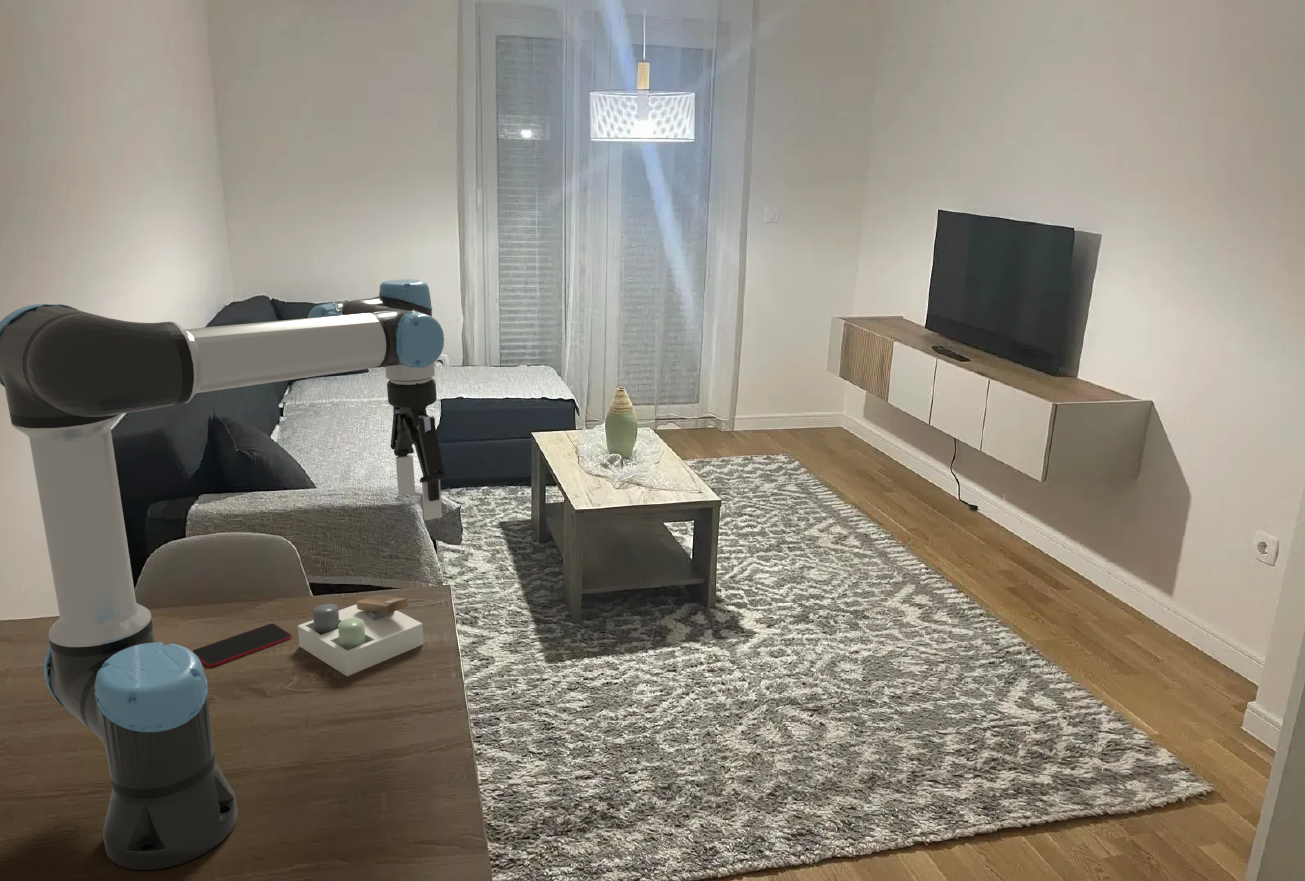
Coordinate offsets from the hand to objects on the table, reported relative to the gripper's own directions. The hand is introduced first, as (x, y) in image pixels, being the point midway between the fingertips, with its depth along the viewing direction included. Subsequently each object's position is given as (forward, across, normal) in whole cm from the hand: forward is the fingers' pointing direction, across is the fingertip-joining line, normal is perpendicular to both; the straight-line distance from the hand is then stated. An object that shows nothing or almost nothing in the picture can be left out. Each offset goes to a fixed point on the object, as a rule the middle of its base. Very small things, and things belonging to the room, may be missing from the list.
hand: (419, 505), depth 161 cm
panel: (+27, +8, +9) cm, 30 cm away
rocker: (+20, +10, +5) cm, 23 cm away
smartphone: (+27, +18, +27) cm, 43 cm away
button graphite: (+24, +11, +14) cm, 30 cm away
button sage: (+24, +3, +12) cm, 27 cm away
